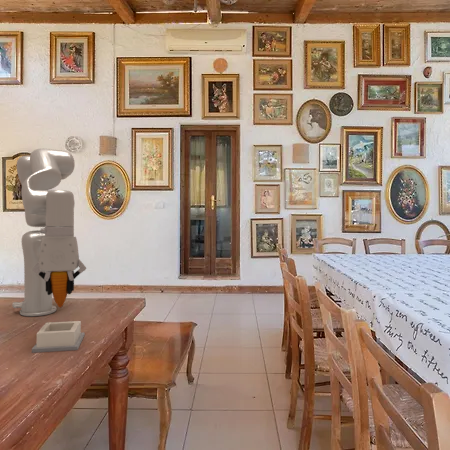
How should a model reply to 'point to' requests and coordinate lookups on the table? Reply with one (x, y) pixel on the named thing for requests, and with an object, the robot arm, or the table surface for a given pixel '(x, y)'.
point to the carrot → (59, 286)
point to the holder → (59, 337)
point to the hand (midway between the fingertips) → (60, 293)
